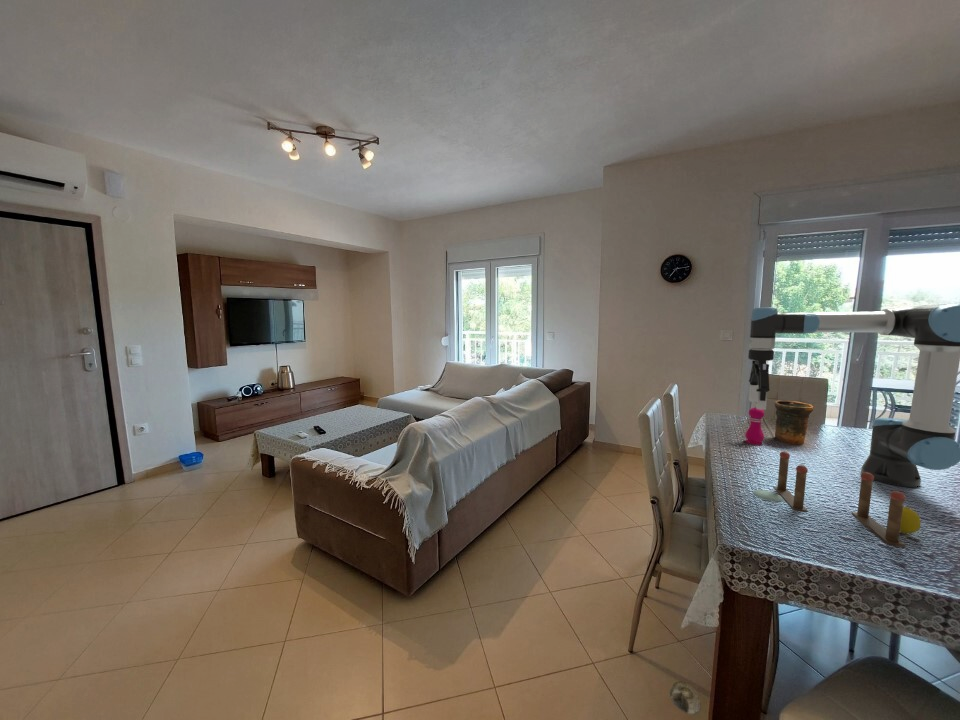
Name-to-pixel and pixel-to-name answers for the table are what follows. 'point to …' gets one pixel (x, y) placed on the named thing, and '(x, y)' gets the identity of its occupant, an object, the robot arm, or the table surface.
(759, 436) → the pepper mill
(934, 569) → the table surface
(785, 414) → the vessel
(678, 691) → the cake
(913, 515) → the lemon
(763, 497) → the pad
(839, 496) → the table surface
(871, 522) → the gate course
